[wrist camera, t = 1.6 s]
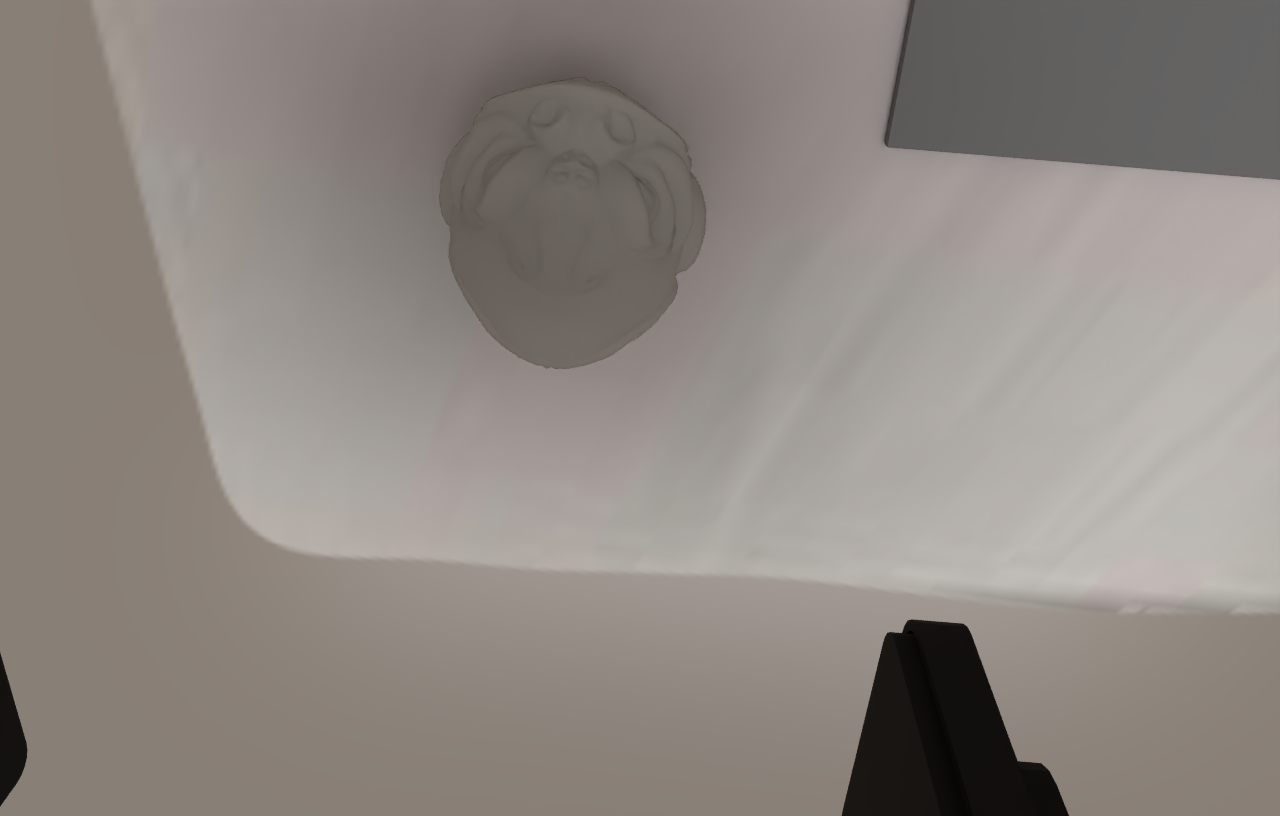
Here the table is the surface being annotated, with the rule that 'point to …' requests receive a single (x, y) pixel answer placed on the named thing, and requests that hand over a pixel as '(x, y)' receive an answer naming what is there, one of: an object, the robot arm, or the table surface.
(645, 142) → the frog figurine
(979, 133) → the slate mat
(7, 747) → the robot arm
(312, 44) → the table surface
